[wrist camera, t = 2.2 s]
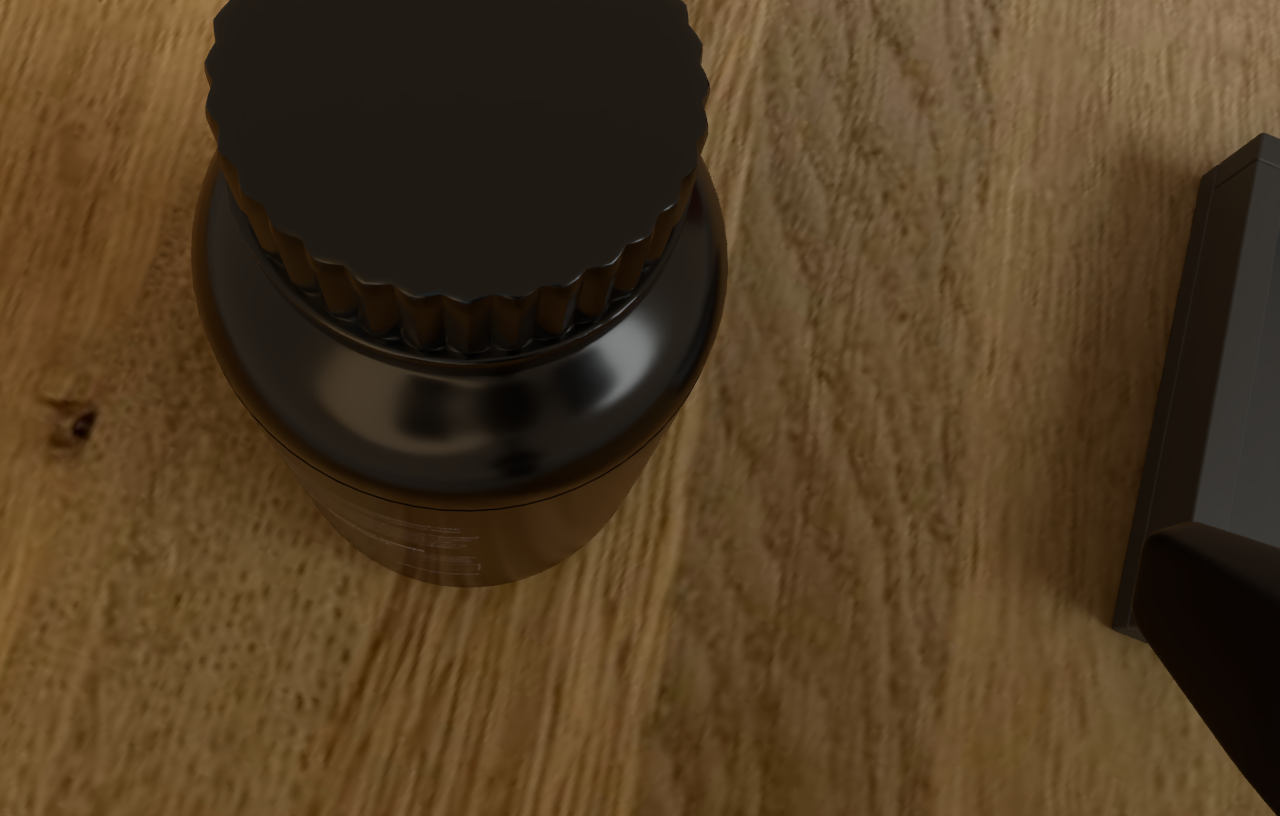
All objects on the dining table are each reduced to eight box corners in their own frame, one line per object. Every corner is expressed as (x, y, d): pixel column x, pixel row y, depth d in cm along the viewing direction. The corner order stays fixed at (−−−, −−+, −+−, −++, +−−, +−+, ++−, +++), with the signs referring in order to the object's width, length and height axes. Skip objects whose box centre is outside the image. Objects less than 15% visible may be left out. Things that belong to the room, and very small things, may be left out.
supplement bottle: (703, 474, 22) (955, 207, 10) (412, 660, 20) (319, 590, 8) (527, 211, 23) (575, -299, 11) (234, 364, 21) (-66, -59, 9)
